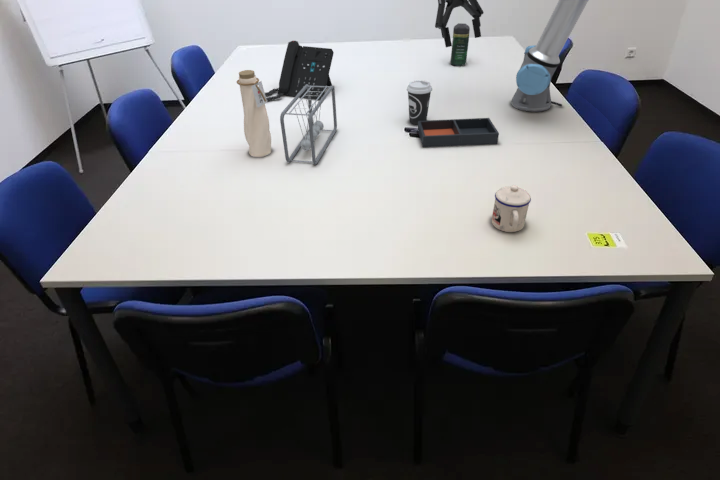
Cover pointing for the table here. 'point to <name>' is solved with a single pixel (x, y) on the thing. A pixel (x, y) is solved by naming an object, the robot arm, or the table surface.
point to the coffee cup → (418, 100)
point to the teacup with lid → (510, 208)
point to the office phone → (304, 71)
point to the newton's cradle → (313, 127)
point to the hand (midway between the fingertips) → (463, 42)
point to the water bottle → (255, 114)
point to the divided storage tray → (457, 132)
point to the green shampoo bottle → (460, 44)
